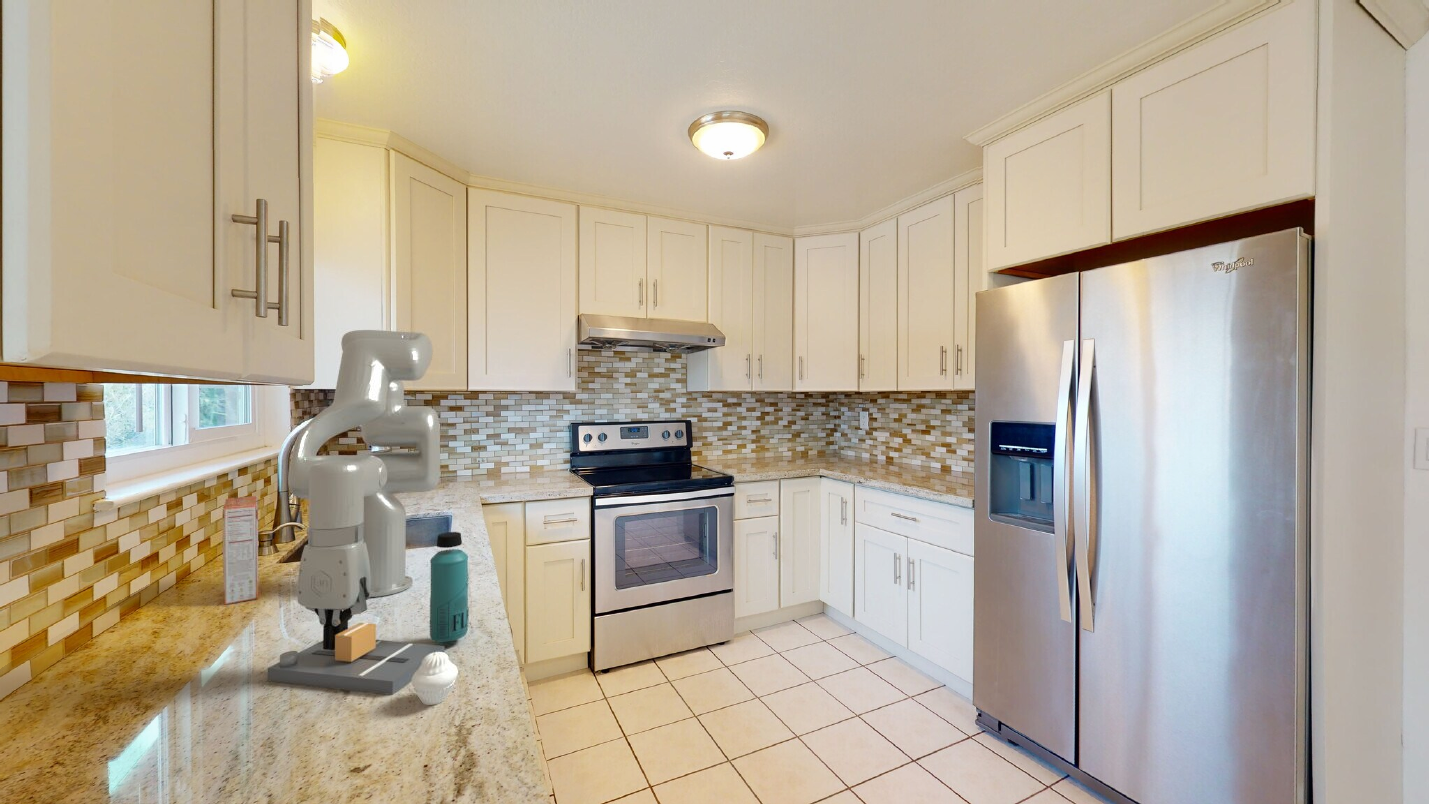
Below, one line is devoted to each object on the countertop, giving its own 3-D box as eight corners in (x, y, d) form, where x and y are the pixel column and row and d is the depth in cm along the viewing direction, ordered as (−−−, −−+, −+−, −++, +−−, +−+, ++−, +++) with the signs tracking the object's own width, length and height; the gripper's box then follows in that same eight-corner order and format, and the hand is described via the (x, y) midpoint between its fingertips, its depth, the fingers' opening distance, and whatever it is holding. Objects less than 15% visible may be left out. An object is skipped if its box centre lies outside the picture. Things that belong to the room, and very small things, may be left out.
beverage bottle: (453, 652, 96) (454, 538, 96) (419, 648, 98) (421, 536, 97) (476, 637, 103) (477, 530, 102) (445, 633, 104) (446, 528, 104)
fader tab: (334, 660, 88) (335, 633, 88) (359, 646, 93) (360, 621, 93) (351, 661, 88) (351, 635, 88) (375, 647, 92) (375, 622, 92)
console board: (267, 680, 86) (267, 657, 86) (332, 646, 98) (332, 626, 98) (392, 694, 82) (392, 670, 82) (444, 657, 94) (444, 636, 94)
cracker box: (223, 588, 127) (224, 497, 127) (257, 583, 131) (258, 495, 131) (221, 606, 116) (222, 507, 116) (258, 599, 120) (259, 504, 120)
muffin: (404, 700, 81) (405, 652, 81) (447, 684, 86) (447, 639, 86) (421, 716, 77) (421, 666, 77) (464, 699, 82) (465, 652, 82)
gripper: (276, 538, 88) (275, 652, 88) (357, 544, 86) (356, 661, 86) (317, 528, 96) (316, 633, 96) (393, 532, 93) (392, 640, 93)
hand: (335, 646), depth 91 cm, fingers closed
